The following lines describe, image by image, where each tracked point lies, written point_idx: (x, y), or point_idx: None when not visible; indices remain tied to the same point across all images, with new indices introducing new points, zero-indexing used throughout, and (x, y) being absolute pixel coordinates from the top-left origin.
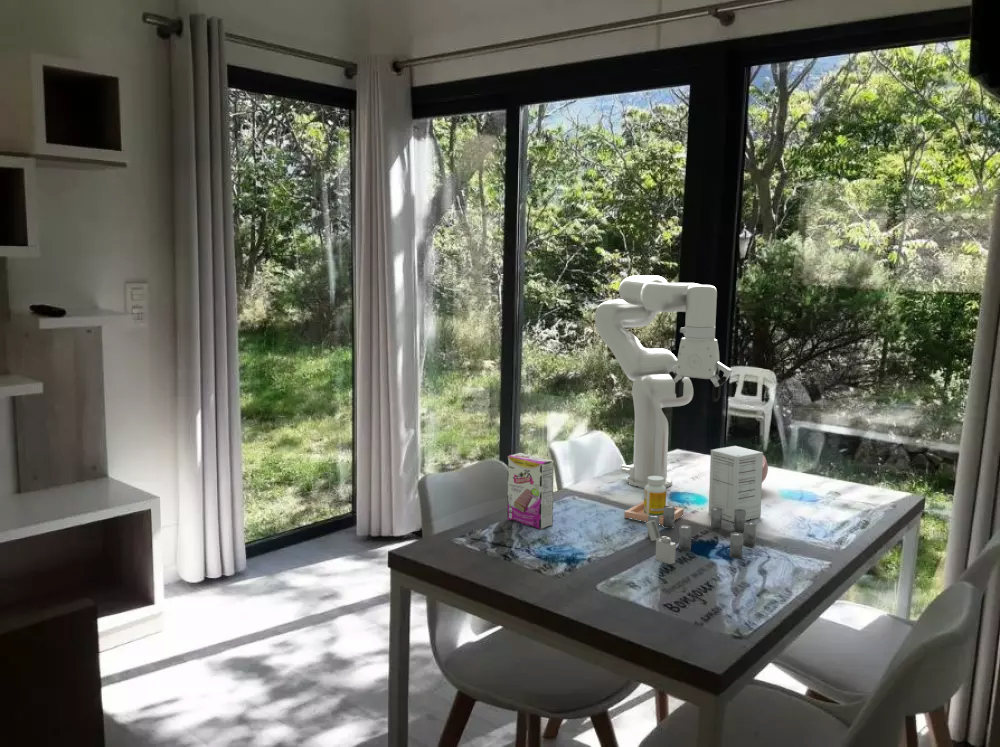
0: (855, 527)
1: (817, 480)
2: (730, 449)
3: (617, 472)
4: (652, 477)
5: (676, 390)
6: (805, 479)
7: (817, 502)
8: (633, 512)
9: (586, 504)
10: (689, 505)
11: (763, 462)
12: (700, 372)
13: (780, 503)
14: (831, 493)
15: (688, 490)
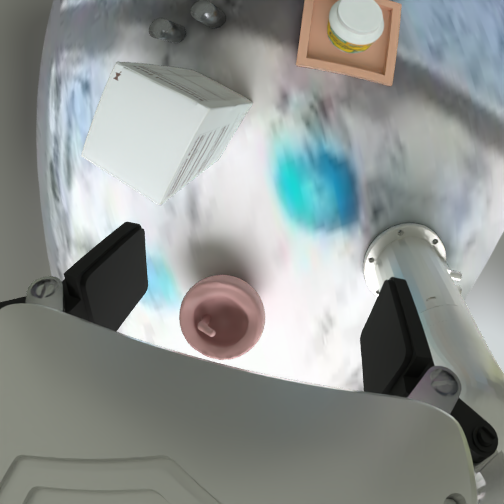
0: (56, 161)
1: None
2: (153, 139)
3: None
4: (370, 13)
5: (415, 309)
6: None
7: None
8: (383, 3)
9: (486, 79)
10: (303, 140)
11: (184, 319)
12: (77, 386)
13: (157, 228)
14: None
15: (326, 244)
